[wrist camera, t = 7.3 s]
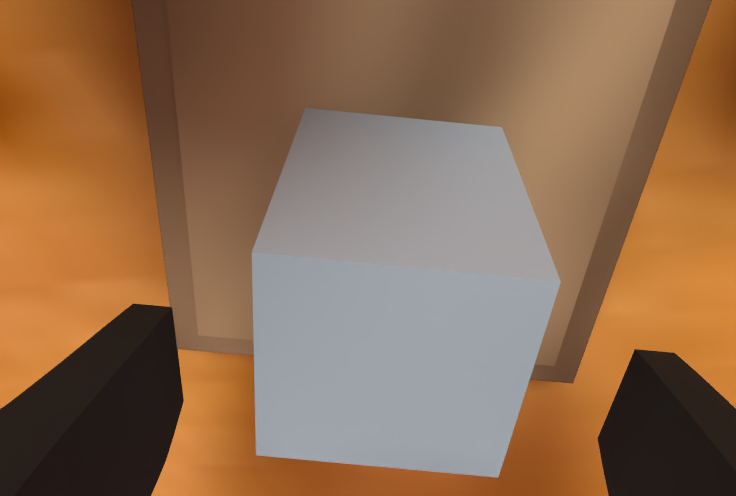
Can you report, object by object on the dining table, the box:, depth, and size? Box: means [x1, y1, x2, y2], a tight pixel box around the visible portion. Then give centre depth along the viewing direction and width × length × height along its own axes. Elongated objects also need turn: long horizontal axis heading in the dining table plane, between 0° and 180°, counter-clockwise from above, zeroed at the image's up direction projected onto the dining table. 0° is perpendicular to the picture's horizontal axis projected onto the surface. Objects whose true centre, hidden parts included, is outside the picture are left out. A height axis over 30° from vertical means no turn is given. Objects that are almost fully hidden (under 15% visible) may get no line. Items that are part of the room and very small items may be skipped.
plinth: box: [132, 0, 712, 383], centre depth 16 cm, size 12×12×2 cm
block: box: [252, 108, 561, 478], centre depth 13 cm, size 4×4×6 cm
